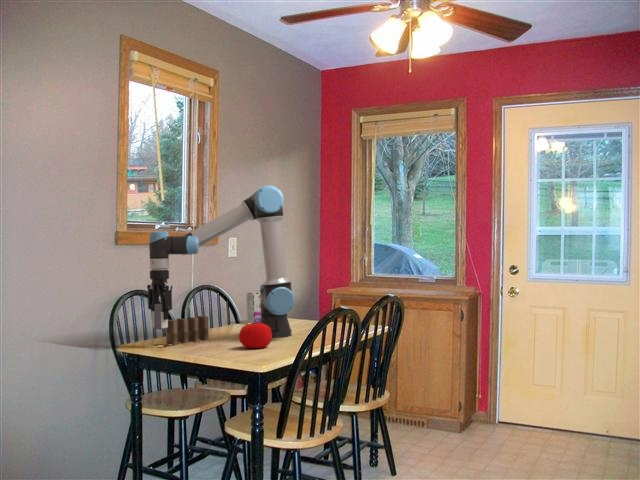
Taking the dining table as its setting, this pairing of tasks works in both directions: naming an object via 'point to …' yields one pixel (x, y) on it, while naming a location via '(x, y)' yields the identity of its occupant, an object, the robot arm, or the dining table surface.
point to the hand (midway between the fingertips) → (160, 327)
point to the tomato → (255, 335)
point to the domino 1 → (158, 316)
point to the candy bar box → (253, 307)
